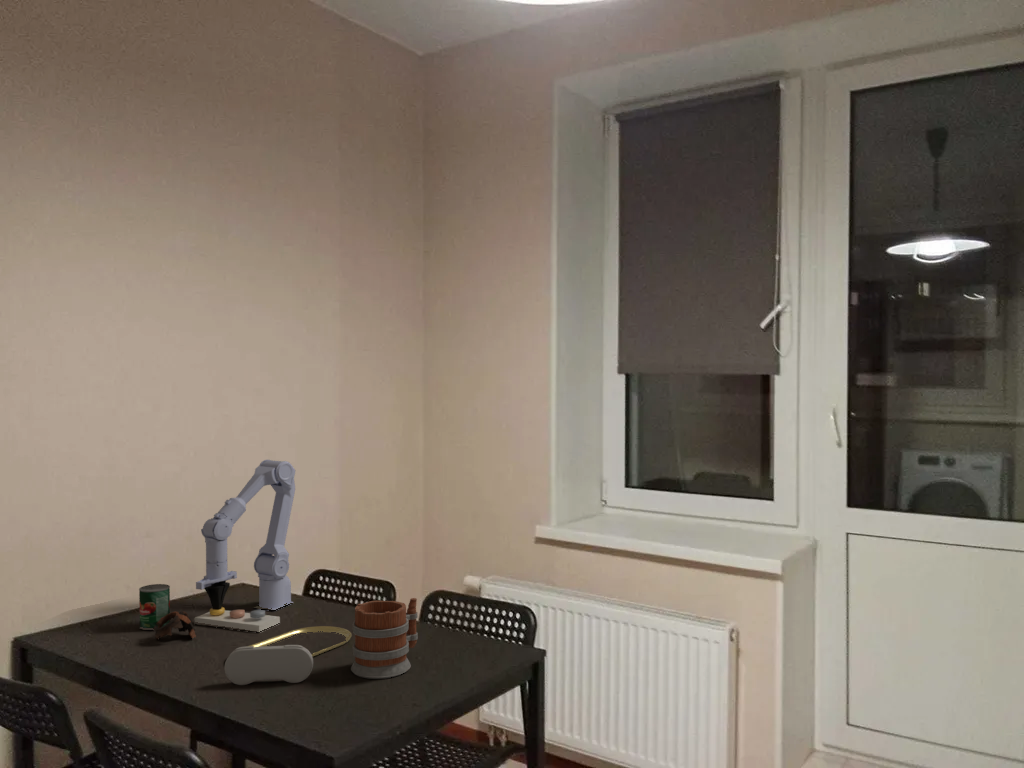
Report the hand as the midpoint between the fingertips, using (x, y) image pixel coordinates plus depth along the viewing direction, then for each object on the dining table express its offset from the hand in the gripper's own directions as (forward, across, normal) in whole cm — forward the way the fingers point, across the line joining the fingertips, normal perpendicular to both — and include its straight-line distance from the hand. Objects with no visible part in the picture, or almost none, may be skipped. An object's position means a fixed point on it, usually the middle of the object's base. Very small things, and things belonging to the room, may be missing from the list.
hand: (217, 609), depth 239 cm
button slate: (+2, 0, +14) cm, 14 cm away
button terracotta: (+2, 0, +7) cm, 7 cm away
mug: (+4, +15, +64) cm, 66 cm away
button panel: (+4, 0, +7) cm, 8 cm away
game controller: (+4, +34, +44) cm, 56 cm away
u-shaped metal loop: (+4, +13, +35) cm, 38 cm away
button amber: (+1, 0, 0) cm, 1 cm away
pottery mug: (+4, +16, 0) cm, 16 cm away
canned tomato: (+4, +10, -13) cm, 17 cm away
